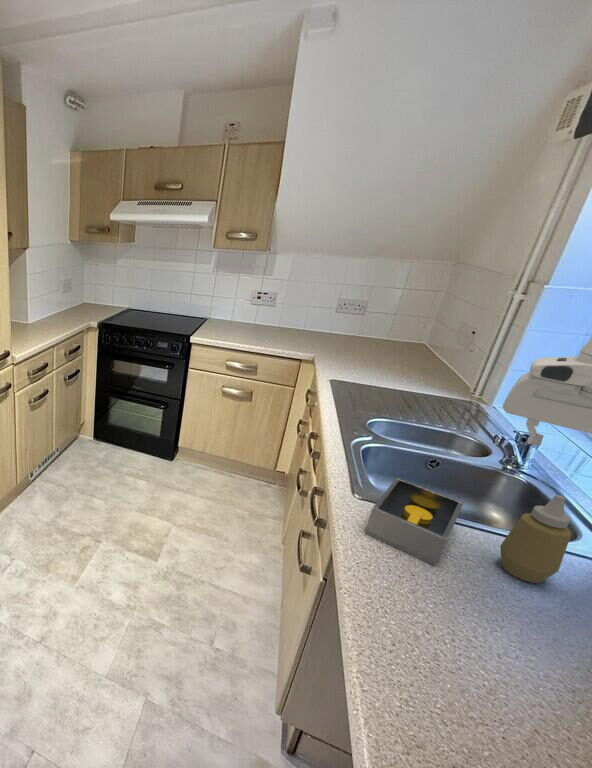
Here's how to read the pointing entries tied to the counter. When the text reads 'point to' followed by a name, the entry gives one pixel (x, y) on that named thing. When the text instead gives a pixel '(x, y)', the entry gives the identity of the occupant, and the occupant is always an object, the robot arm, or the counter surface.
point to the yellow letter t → (417, 515)
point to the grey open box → (408, 536)
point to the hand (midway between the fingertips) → (573, 455)
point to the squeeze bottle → (537, 542)
